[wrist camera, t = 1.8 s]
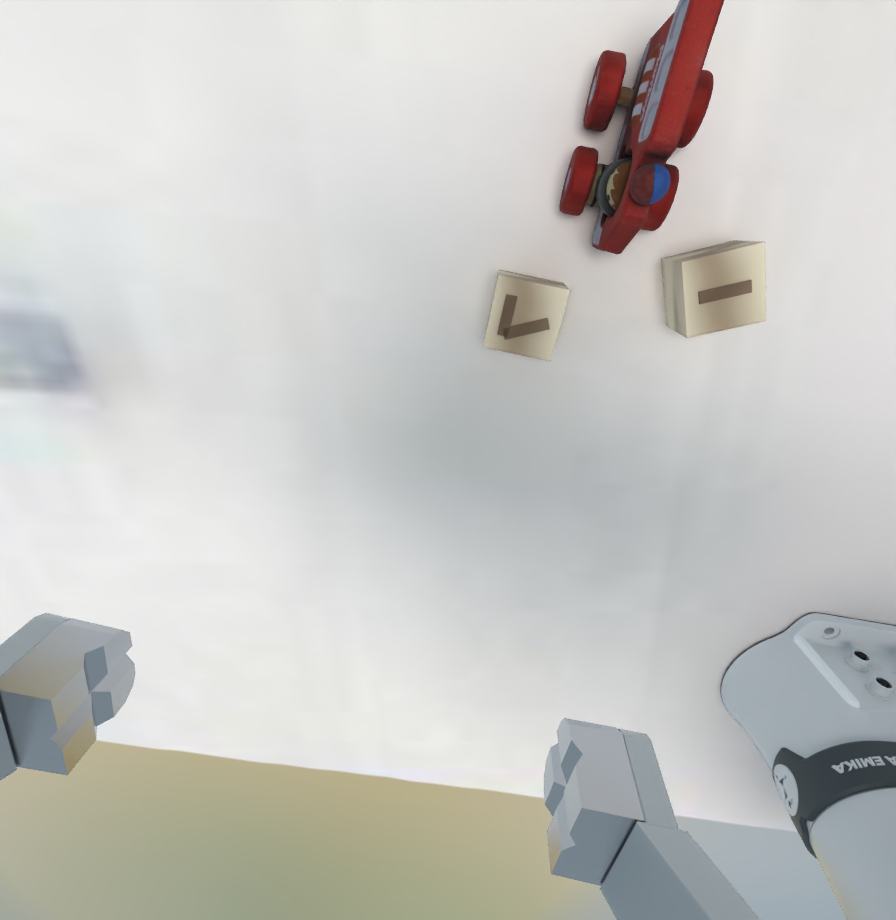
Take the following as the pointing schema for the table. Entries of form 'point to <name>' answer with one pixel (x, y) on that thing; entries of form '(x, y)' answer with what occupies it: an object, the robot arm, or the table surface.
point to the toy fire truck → (644, 127)
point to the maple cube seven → (526, 315)
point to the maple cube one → (715, 288)
